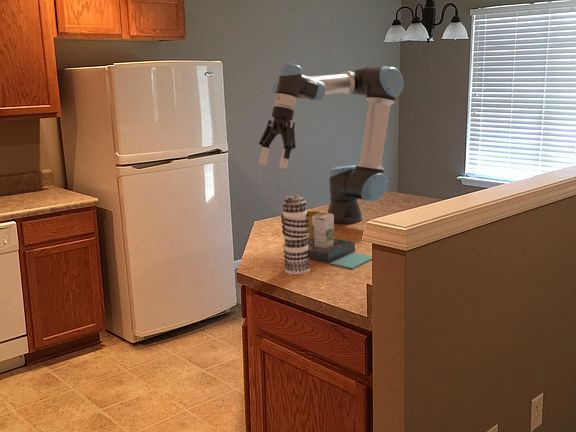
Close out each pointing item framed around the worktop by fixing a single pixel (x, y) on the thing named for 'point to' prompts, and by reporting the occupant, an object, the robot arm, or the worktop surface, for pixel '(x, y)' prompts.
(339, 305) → the worktop surface
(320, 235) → the syrup box
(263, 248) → the worktop surface
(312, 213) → the plant pot
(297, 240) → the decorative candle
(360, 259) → the mat
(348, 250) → the grey square tray
